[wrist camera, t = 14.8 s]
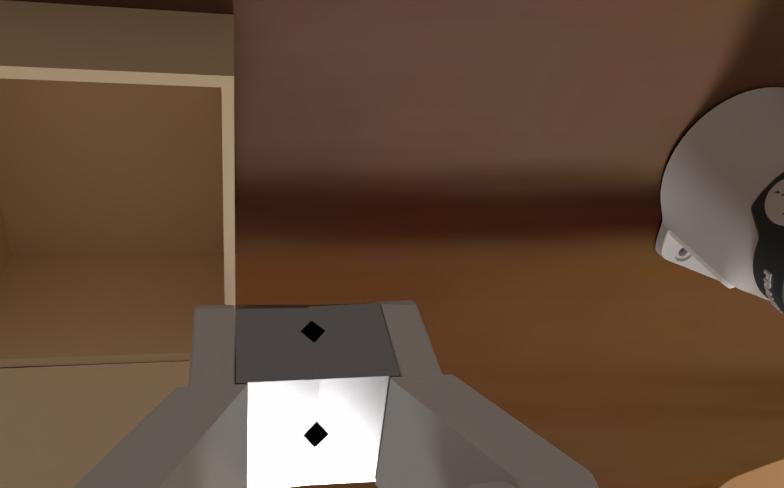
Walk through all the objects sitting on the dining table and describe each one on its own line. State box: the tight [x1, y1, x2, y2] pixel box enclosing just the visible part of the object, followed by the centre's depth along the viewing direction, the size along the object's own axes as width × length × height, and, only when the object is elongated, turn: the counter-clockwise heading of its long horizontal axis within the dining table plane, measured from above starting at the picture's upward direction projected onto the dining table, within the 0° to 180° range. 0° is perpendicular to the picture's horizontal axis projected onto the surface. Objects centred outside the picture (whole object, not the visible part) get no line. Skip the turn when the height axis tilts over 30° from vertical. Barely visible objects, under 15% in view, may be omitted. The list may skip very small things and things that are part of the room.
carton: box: [0, 0, 235, 367], centre depth 43 cm, size 18×16×12 cm
